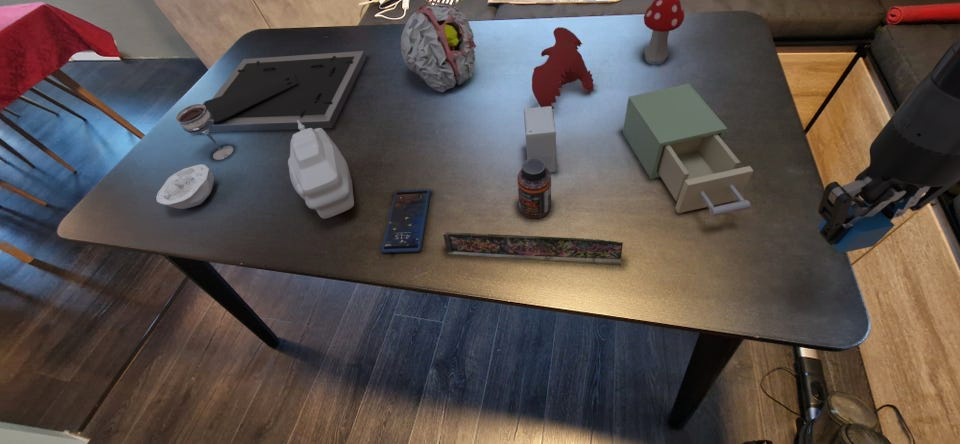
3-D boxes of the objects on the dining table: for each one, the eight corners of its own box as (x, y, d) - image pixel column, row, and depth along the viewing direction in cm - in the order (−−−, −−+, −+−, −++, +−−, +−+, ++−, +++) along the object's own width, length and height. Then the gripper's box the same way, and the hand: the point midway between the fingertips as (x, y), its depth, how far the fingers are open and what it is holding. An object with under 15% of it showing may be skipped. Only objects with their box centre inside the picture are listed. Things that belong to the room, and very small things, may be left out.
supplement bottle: (515, 216, 80) (510, 174, 71) (525, 193, 83) (522, 150, 75) (545, 223, 78) (545, 181, 70) (555, 199, 82) (555, 156, 73)
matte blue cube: (873, 246, 52) (895, 225, 49) (840, 253, 52) (859, 233, 49) (849, 220, 54) (868, 198, 51) (817, 227, 54) (833, 206, 51)
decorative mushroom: (673, 70, 101) (689, 6, 89) (635, 68, 103) (645, 6, 91) (674, 47, 106) (690, -16, 94) (638, 46, 109) (648, -16, 97)
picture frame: (196, 133, 112) (332, 128, 105) (187, 122, 109) (326, 116, 102) (247, 65, 130) (366, 58, 123) (240, 54, 127) (362, 46, 120)
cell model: (233, 184, 97) (214, 163, 92) (191, 224, 91) (169, 203, 85) (203, 174, 101) (184, 153, 95) (162, 211, 94) (139, 191, 89)
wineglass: (239, 154, 104) (207, 114, 94) (211, 166, 102) (176, 127, 93) (234, 139, 108) (203, 99, 98) (207, 151, 106) (174, 112, 97)
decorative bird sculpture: (585, 70, 113) (547, 27, 107) (614, 50, 105) (575, 3, 100) (557, 141, 97) (511, 95, 92) (588, 123, 90) (541, 73, 85)
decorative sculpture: (424, 112, 116) (430, 89, 96) (385, 43, 114) (382, 5, 94) (482, 82, 119) (499, 53, 99) (445, 14, 117) (455, -29, 97)
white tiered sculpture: (350, 162, 96) (320, 104, 84) (370, 216, 85) (339, 159, 73) (303, 181, 94) (265, 124, 82) (317, 239, 83) (276, 184, 71)
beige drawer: (754, 221, 72) (772, 192, 66) (691, 235, 72) (703, 207, 66) (701, 151, 83) (712, 121, 77) (647, 163, 83) (654, 134, 77)
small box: (556, 172, 86) (556, 132, 77) (528, 175, 86) (525, 135, 78) (552, 145, 91) (552, 105, 82) (526, 148, 91) (523, 107, 83)
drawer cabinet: (712, 165, 81) (727, 128, 74) (650, 179, 81) (659, 143, 74) (678, 120, 90) (689, 83, 83) (622, 132, 90) (628, 96, 83)
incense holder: (447, 254, 77) (440, 237, 73) (448, 248, 78) (442, 230, 74) (620, 265, 71) (624, 247, 67) (620, 258, 72) (624, 240, 67)
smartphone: (430, 188, 86) (420, 250, 77) (431, 191, 87) (421, 252, 78) (394, 190, 87) (380, 251, 78) (395, 193, 88) (381, 254, 79)
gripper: (901, 169, 37) (810, 272, 50) (1062, 134, 37) (928, 246, 50) (841, 117, 42) (772, 223, 55) (983, 86, 42) (880, 200, 55)
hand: (847, 234), depth 53 cm, fingers closed on matte blue cube, 4 cm apart
